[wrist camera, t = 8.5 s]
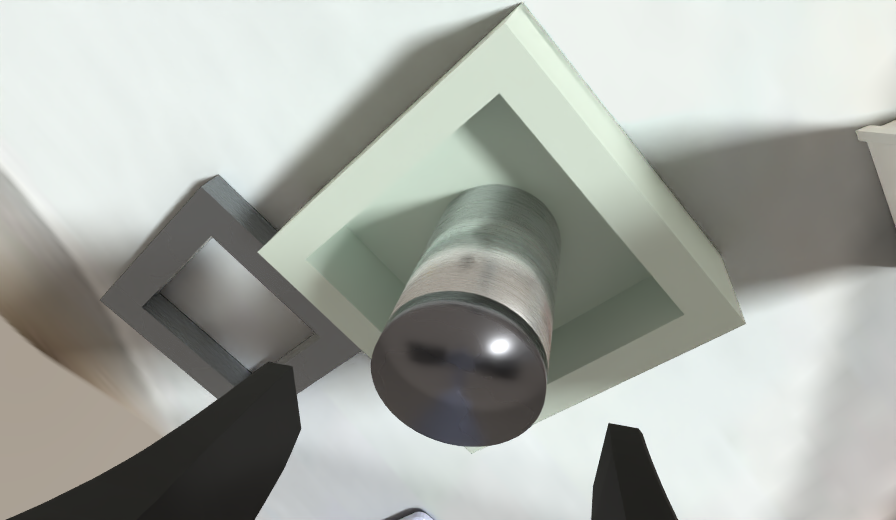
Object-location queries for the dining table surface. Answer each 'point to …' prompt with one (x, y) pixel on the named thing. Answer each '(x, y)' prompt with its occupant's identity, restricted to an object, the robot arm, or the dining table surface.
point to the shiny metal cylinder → (475, 322)
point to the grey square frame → (243, 236)
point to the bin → (544, 176)
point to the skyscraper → (883, 157)
